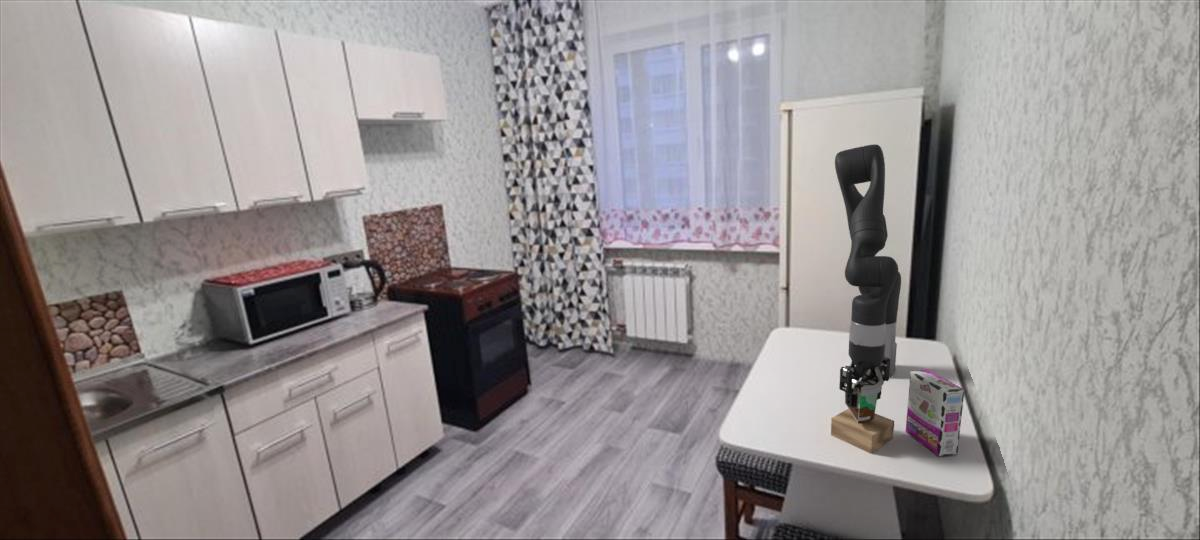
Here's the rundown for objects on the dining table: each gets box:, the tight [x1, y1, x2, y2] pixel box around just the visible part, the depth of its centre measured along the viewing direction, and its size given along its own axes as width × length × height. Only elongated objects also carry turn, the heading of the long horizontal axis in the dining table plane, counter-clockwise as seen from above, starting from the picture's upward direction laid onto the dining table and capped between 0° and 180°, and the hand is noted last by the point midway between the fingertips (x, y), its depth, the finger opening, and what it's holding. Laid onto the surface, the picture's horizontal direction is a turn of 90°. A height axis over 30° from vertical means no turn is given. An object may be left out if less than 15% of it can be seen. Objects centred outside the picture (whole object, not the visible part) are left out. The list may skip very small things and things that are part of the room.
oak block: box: [830, 408, 895, 454], centre depth 120 cm, size 10×10×5 cm
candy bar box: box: [905, 369, 965, 458], centre depth 114 cm, size 11×5×16 cm, turn 5°
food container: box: [844, 365, 883, 423], centre depth 118 cm, size 12×6×10 cm, turn 171°
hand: (863, 402), depth 118 cm, fingers closed on food container, 7 cm apart
